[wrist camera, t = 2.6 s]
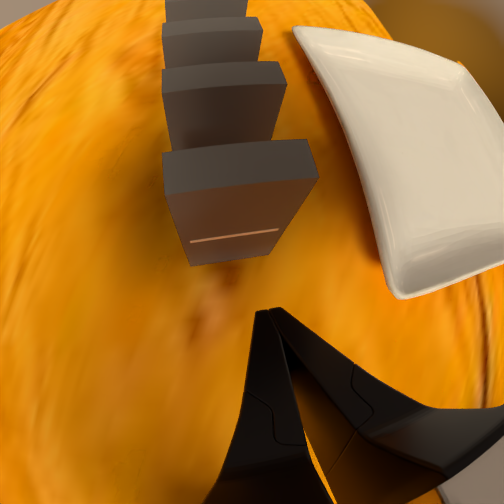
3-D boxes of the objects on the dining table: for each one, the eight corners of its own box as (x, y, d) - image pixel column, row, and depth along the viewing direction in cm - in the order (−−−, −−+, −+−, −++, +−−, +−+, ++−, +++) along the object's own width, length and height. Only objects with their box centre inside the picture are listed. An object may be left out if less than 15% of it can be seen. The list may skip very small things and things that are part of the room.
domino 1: (235, 99, 22) (248, -3, 13) (175, 105, 21) (165, 3, 12) (232, 86, 23) (243, -12, 13) (174, 92, 22) (165, -6, 12)
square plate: (452, 79, 30) (465, 63, 26) (531, 254, 23) (553, 246, 20) (283, 45, 26) (290, 18, 22) (367, 309, 19) (397, 302, 16)
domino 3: (256, 191, 20) (287, 84, 11) (183, 201, 19) (161, 93, 10) (251, 171, 21) (277, 61, 11) (180, 180, 20) (161, 69, 10)
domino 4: (268, 254, 19) (319, 178, 9) (190, 266, 18) (164, 195, 9) (263, 230, 19) (306, 138, 10) (187, 241, 19) (162, 152, 9)
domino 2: (244, 139, 21) (263, 30, 12) (177, 147, 20) (161, 37, 11) (240, 123, 22) (256, 16, 12) (176, 131, 21) (162, 23, 11)
